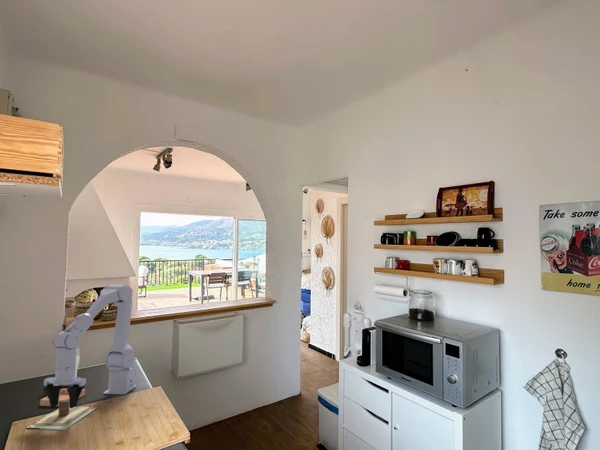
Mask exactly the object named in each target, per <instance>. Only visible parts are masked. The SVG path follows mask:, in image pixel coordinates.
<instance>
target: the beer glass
mask: <svg viewBox="0 0 600 450" xmlns="http://www.w3.org/2000/svg"><path fill="white" fill-rule="evenodd" d="M80 358H81V348H80V346H79V345H78V346H77V348H76V369H75V377H78V376H77V375H78V370H79V369H78V368H79V365H80ZM62 386H67V385H62ZM62 386H61V387H62Z"/></svg>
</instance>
